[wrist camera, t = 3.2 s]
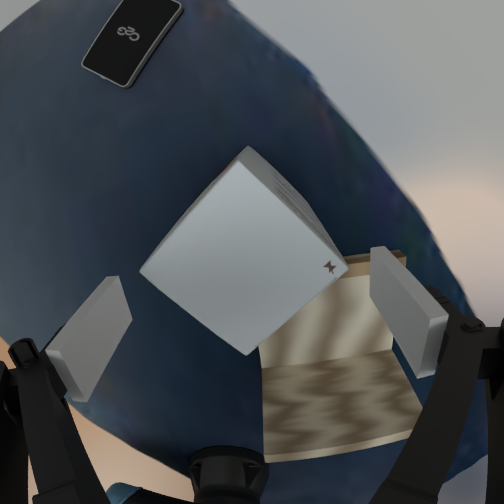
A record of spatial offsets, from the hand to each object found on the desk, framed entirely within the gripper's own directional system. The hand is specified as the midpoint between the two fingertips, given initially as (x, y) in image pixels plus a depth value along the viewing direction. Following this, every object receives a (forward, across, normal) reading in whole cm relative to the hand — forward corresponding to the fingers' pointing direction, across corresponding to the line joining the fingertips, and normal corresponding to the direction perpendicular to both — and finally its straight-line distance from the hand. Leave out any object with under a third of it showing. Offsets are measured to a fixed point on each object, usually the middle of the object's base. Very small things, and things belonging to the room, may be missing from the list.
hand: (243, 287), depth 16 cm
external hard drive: (+20, -10, +21) cm, 31 cm away
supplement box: (+20, 0, 0) cm, 20 cm away
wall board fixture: (+19, +8, -15) cm, 26 cm away
